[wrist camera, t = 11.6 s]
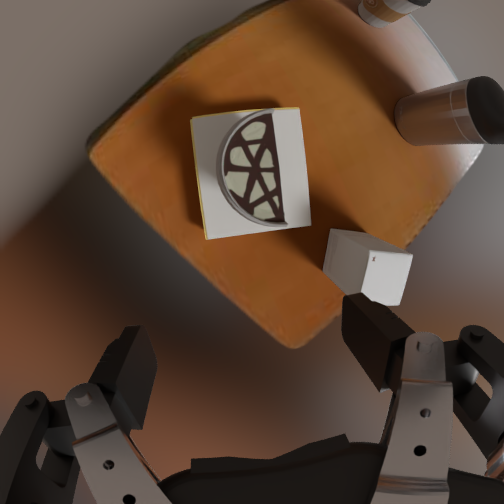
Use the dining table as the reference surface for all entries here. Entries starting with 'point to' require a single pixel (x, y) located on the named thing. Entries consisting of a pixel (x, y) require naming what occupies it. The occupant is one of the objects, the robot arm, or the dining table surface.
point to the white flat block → (290, 162)
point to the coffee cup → (387, 10)
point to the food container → (252, 170)
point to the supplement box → (366, 266)
